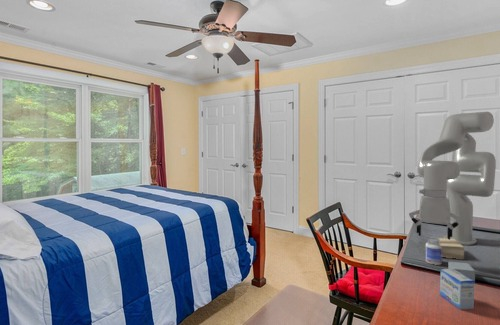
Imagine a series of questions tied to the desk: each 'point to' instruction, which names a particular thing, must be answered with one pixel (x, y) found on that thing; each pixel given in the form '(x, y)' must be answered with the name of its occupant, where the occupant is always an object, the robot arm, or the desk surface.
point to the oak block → (451, 248)
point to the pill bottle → (433, 251)
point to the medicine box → (457, 289)
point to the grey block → (463, 269)
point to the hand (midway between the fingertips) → (433, 236)
